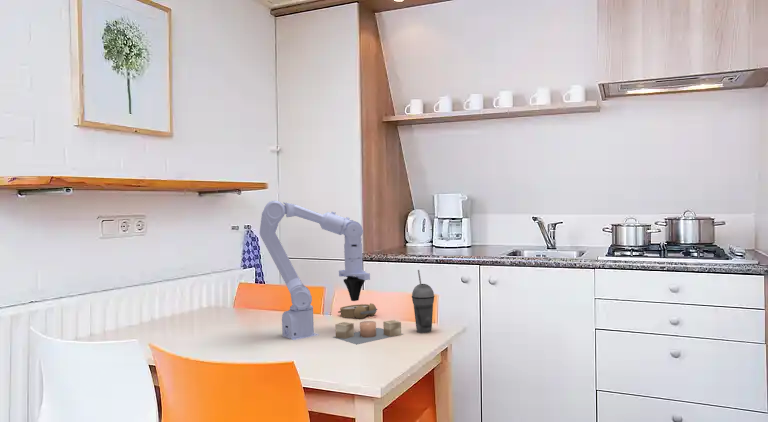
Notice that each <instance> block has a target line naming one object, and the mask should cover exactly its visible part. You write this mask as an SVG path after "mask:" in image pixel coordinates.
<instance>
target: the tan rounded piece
mask: <svg viewBox="0 0 768 422" xmlns="http://www.w3.org/2000/svg"><path fill="white" fill-rule="evenodd" d="M376 328H377V322H376V321H374V320H364V321H360V322H359V332H360V336H361V337H375V336H376Z"/></svg>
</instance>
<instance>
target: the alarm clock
mask: <svg viewBox="0 0 768 422" xmlns="http://www.w3.org/2000/svg"><path fill="white" fill-rule="evenodd" d="M339 309H340V310H339V311H337V313H338V314H340V317H341V318H349V319H350V318H351V319H352V318H356V319H358V320H361V319H365V317H366V316H370V317H373V316H375V315H376V313H377V311H378V308H376V305H375V304H374V303H369V304H366V303H365V304H363V303H361V304H351V305H346V306H342V307H340V308H339Z"/></svg>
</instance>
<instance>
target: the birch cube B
mask: <svg viewBox="0 0 768 422" xmlns="http://www.w3.org/2000/svg"><path fill="white" fill-rule="evenodd" d="M383 329H384V335H387V336H389V338H393V337H392V336H394V337H398V335H399V336H402V335H401V333H402V322H401V321H399V320H396V319H392V320H391V319H390V320H385V321H383Z"/></svg>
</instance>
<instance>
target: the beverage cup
mask: <svg viewBox="0 0 768 422" xmlns="http://www.w3.org/2000/svg"><path fill="white" fill-rule="evenodd" d="M417 274H418V281H419V284H417V285H416V286H415V287H414V288H413V290H412V292H411V298H412V304H413V310H414V318H415V319H414V321H415V327H416V332H417V333H420V334H426V333H427V334H429V333H431V332H432V329H433V315H434V314H433V313H434V312H433V311H434V302H435V292H434V290H433V288H432V287H431V286H430V285H429V284H427V283H422V278H421V273H420V269H417Z"/></svg>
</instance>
